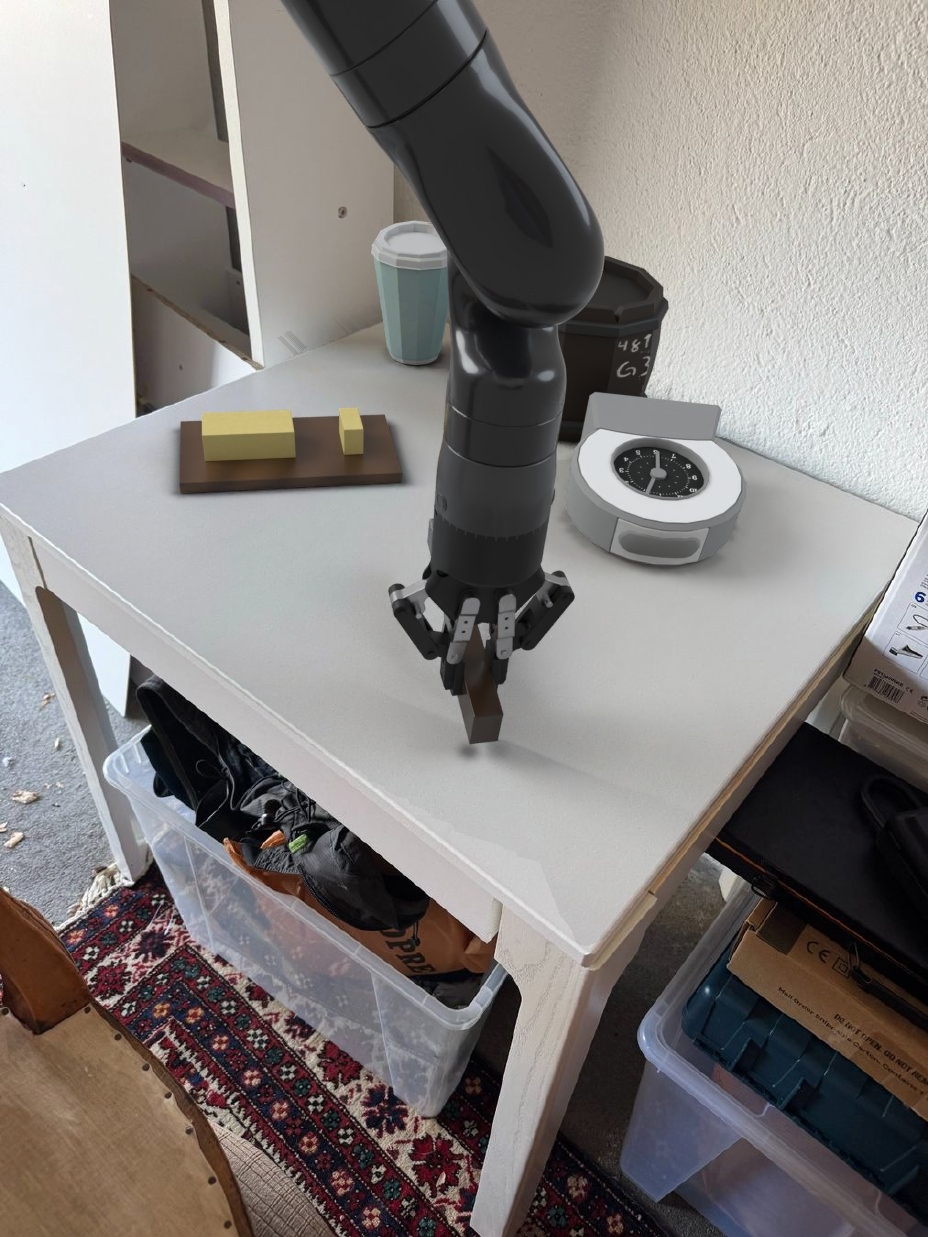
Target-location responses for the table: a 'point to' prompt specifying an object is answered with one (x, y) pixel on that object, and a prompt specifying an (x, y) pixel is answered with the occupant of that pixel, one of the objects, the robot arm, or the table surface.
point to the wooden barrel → (611, 341)
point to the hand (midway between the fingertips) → (471, 685)
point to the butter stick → (248, 435)
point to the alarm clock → (653, 480)
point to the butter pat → (351, 431)
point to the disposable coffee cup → (412, 290)
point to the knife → (477, 688)
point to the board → (294, 459)
